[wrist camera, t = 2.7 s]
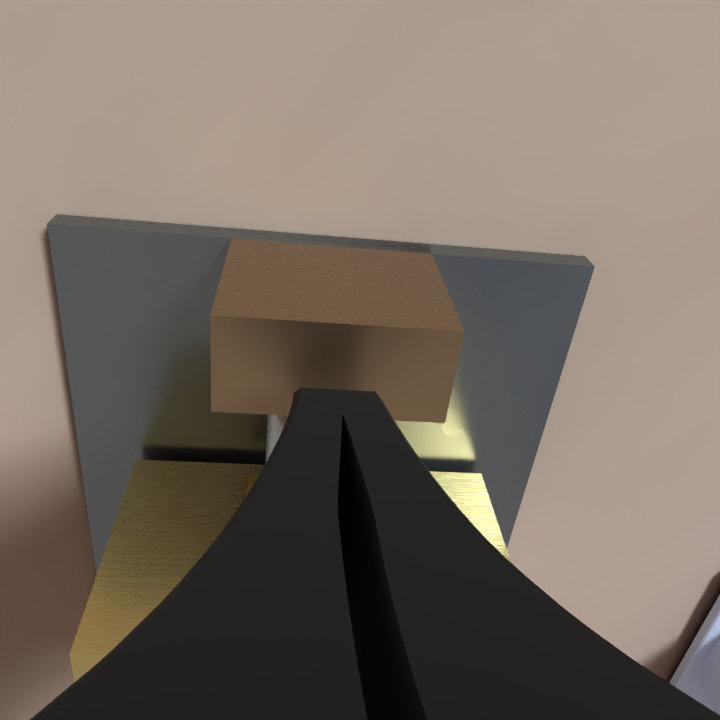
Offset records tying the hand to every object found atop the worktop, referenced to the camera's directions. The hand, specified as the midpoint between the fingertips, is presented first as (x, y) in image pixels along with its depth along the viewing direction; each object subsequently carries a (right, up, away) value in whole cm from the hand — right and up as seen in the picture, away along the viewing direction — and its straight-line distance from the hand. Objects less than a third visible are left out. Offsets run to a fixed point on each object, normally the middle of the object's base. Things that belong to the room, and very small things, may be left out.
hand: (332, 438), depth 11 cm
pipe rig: (-1, -5, +10) cm, 11 cm away
